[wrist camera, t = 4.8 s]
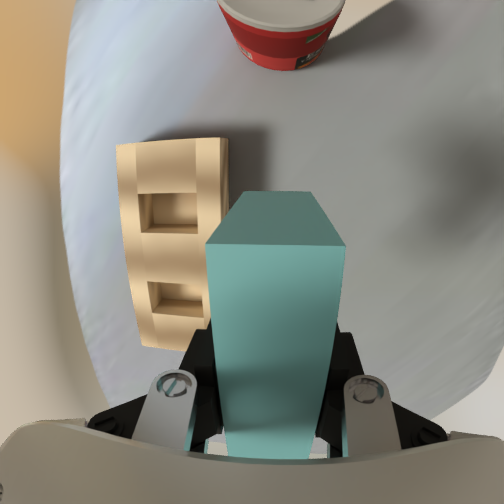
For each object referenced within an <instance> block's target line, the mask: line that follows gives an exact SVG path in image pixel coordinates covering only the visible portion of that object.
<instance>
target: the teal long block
mask: <svg viewBox="0 0 504 504" xmlns="http://www.w3.org/2000/svg"><path fill="white" fill-rule="evenodd" d="M345 250H346V246H345V244H344V242H343V241H342V239H341V238H340V236H339V234H338V233H337V231H336V230H335V228H334V227H333V225H332V223H331V222H330V220H329V219H328V217H327V216H326V214H325V213H324V211H323V210H322V208H321V207H320V205H319V203H318V202H317V200H316V199H315V197H314V196H313V195H312V193H311V192H298V191H244V192H243V193H242V195H241V196H240V197H239V199H238V200H237V201H236V202H235V204H234V205H233V206H232V208H231V209H230V211H229V212H228V213H227V215H226V216H225V217H224V219H223V220H222V221H221V223H220V224H219V225H218V227H217V228H216V229H215V231H214V232H213V234H212V235H211V236H210V238H209V239H208V240H207V242H206V243H205V252H206V266H207V279H208V291H209V302H210V313H211V323H212V333H213V343H214V352H215V361H216V370H217V378H218V386H219V394H220V402H221V409H222V416H223V424H224V431H225V437H226V444H227V450H228V456H232V457H244V458H261V459H308V458H309V454H310V450H311V447H312V443H313V439H314V435H315V431H316V427H317V422H318V418H319V414H320V409H321V405H322V400H323V396H324V391H325V386H326V381H327V376H328V371H329V365H330V360H331V354H332V348H333V342H334V336H335V330H336V324H337V317H338V310H339V302H340V295H341V287H342V278H343V270H344V260H345Z"/></svg>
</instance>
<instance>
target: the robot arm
mask: <svg viewBox="0 0 504 504" xmlns="http://www.w3.org/2000/svg"><path fill="white" fill-rule="evenodd" d="M223 426H224V424H223V416H222V409H221V402H220V394H219V386H218V378H217V370H216V361H215V352H214V343H213V333H212V323H211V318H210V321H209V324H208V326H207V329H196V330H195V332H194V335H193V337H192V339H191V341H190V344H189V346H188V348H187V351H186V353H185V355H184V358H183V360H182V362H181V365H180V367H179V369H177V370H168V371H165V372H163V373H161V374H159V375H158V376H156V377H155V378H154V380H153V382H152V384H151V387H150V389H149V392H148V394H146V395H144V396H142V397H139V398H137V399H134V400H132V401H129V402H127V403H124V404H121V405H119V406H116V407H114V408H111V409H109V410H106V411H103V412H101V413H98V414H96V415H95V416H94V417H92V418H91V419H90V421H86V419H85V418H80V419H65V420H41V421H37V422H32V423H27V424H24V425H22V426H21V427H19V428H17V430H15V431H14V432H13V433H12V434H11V435H10V436H9V437H8V438H7V439H6V441H5V442H4V443H3V444H2V445H1V447H0V504H504V441H502V440H501V439H499V438H497V437H494V436H486V435H477V434H469V433H462V432H456V431H451V432H450V434H446V432H445V431H444V429H443V428H442V427H440V426H439V425H437V424H436V423H434V422H432V421H430V420H428V419H426V418H423V417H421V416H419V415H417V414H415V413H413V412H411V411H409V410H407V409H405V408H403V407H402V406H400V405H398V404H396V403H394V402H392V401H391V398H390V394H389V390H388V387H387V385H386V384H385V383H384V382H383V381H382V380H380V379H379V378H377V377H374V376H371V375H364V371H363V368H362V365H361V362H360V358H359V355H358V352H357V349H356V346H355V342H354V339H353V336H352V334H351V333H350V332H343V333H340V330H339V326H338V323H337V324H336V330H335V336H334V342H333V348H332V354H331V360H330V365H329V371H328V376H327V381H326V386H325V391H324V396H323V400H322V405H321V409H320V414H319V418H318V422H317V427H316V431H315V435H316V437H320V438H322V439H323V440H325V441H326V442H328V445H327V458H323V459H261V458H244V457H232V456H222V455H213V454H207V449H208V443H209V441H208V438H210V437H212V436H213V435H215V434H222V429H223Z"/></svg>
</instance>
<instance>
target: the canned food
mask: <svg viewBox="0 0 504 504" xmlns="http://www.w3.org/2000/svg"><path fill="white" fill-rule="evenodd" d="M217 2H218V5H219V7H220V9H221V11H222V13H223V15H224V17H225V19H226V21H227V23H228V25H229V27H230V29H231V32H232V34H233V36H234V38H235V40H236V42H237V44H238V47H239V49H240V50H241V51H242V53H243V54H244V55H245V56H246V57H247V58H248V59H249V60H251V61H252V62H254V63H256V64H257V65H260V66H262V67H264V68H268V69H272V70H279V71H288V70H295V69H299V68H302V67H304V66H307V65H309V64H310V63H312V62H313V61H314V60H315V59H316V58H317V57H318V56H319V55H320V53H321V52H322V50H323V48H324V46H325V44H326V42H327V40H328V37H329V35H330V33H331V31H332V29H333V27H334V25H335V23H336V21H337V19H338V17H339V15H340V13H341V11H342V8H343V6H344V3H345V0H217Z"/></svg>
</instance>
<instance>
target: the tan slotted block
mask: <svg viewBox="0 0 504 504" xmlns="http://www.w3.org/2000/svg"><path fill="white" fill-rule="evenodd" d="M228 140H229V139H228V138H220V137H219V138H193V139H176V140H162V141H150V142H140V143H131V144H122V145H116V157H117V177H118V192H119V204H120V215H121V224H122V233H123V241H124V249H125V256H126V263H127V270H128V276H129V282H130V288H131V293H132V299H133V304H134V309H135V314H136V319H137V324H138V328H139V333H140V337H141V342H142V345H143V346H150V347H156V348H164V349H171V350H179V351H187V348H188V346H189V344H190V341H191V339H192V337H193V335H194V332H195V330H196V329H207V326H208V324H209V321H210V318H211V313H210V302H209V291H208V279H207V266H206V252H205V243H206V242H207V240H208V239H209V238H210V236H211V235H212V234H213V232H214V231H215V229H216V228H217V227H218V225H219V224H220V223H221V221H222V220H223V219H224V217H225V216H226V215H227V213H228V212H229V159H228Z"/></svg>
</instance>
